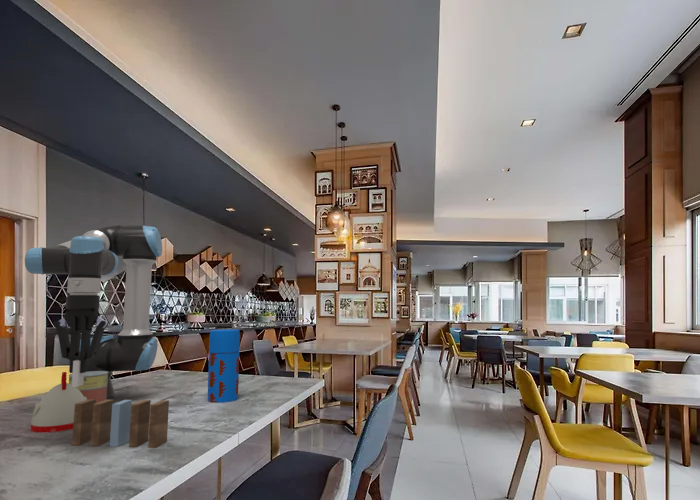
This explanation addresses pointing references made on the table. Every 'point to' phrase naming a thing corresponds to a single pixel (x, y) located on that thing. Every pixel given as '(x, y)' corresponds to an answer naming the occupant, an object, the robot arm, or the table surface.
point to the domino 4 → (139, 423)
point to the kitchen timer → (56, 408)
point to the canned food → (94, 385)
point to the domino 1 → (82, 422)
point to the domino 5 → (158, 423)
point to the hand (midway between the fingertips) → (77, 385)
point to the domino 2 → (101, 422)
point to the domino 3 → (120, 423)
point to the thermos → (223, 366)
